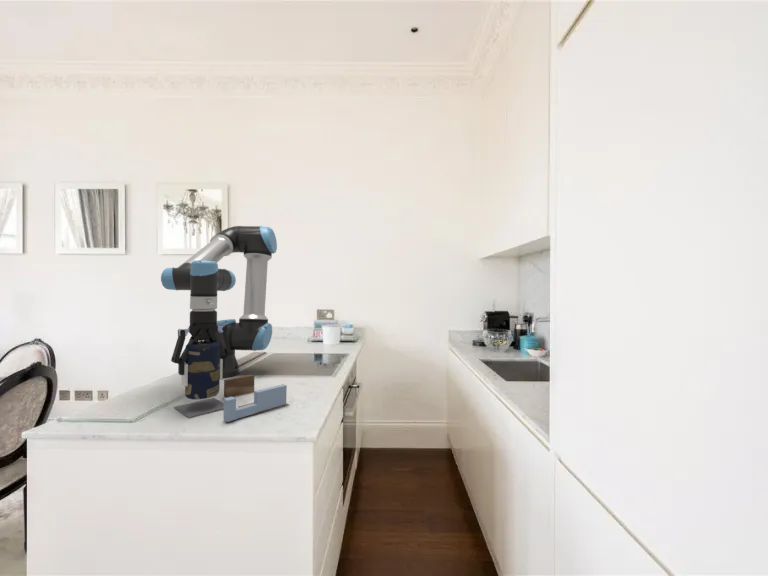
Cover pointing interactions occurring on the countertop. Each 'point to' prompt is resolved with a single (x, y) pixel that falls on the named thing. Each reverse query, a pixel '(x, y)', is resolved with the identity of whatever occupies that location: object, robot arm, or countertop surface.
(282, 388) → the tie jaw
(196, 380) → the canister
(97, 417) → the countertop surface
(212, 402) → the mat
